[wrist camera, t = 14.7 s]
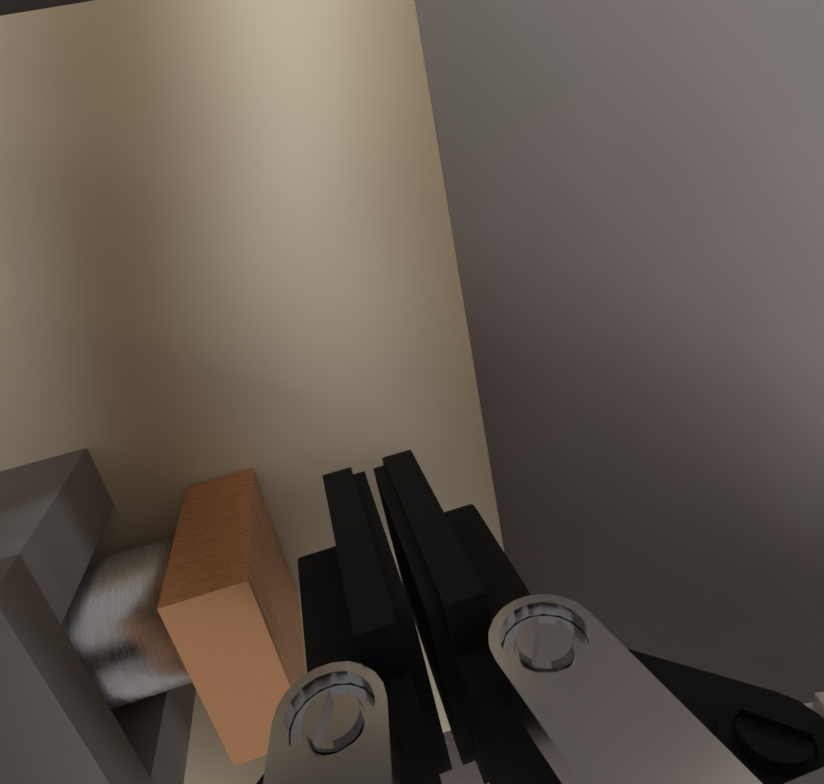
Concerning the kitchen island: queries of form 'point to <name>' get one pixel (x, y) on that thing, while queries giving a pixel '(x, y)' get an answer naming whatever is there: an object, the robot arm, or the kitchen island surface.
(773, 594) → the kitchen island surface
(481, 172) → the kitchen island surface
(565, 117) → the kitchen island surface
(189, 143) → the dock
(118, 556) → the lock pin
